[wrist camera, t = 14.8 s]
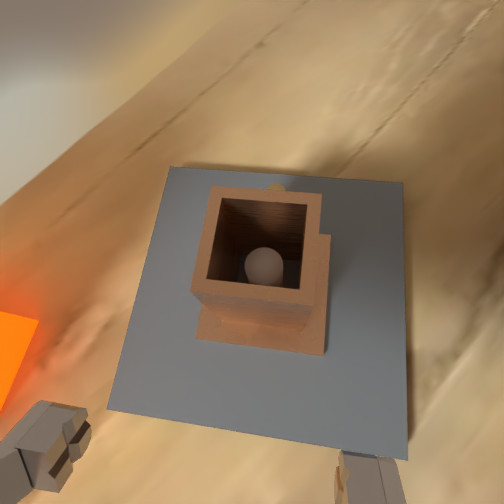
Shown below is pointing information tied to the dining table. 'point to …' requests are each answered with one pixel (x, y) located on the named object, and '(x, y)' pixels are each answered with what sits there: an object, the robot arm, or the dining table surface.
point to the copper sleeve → (258, 296)
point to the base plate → (267, 360)
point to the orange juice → (13, 347)
